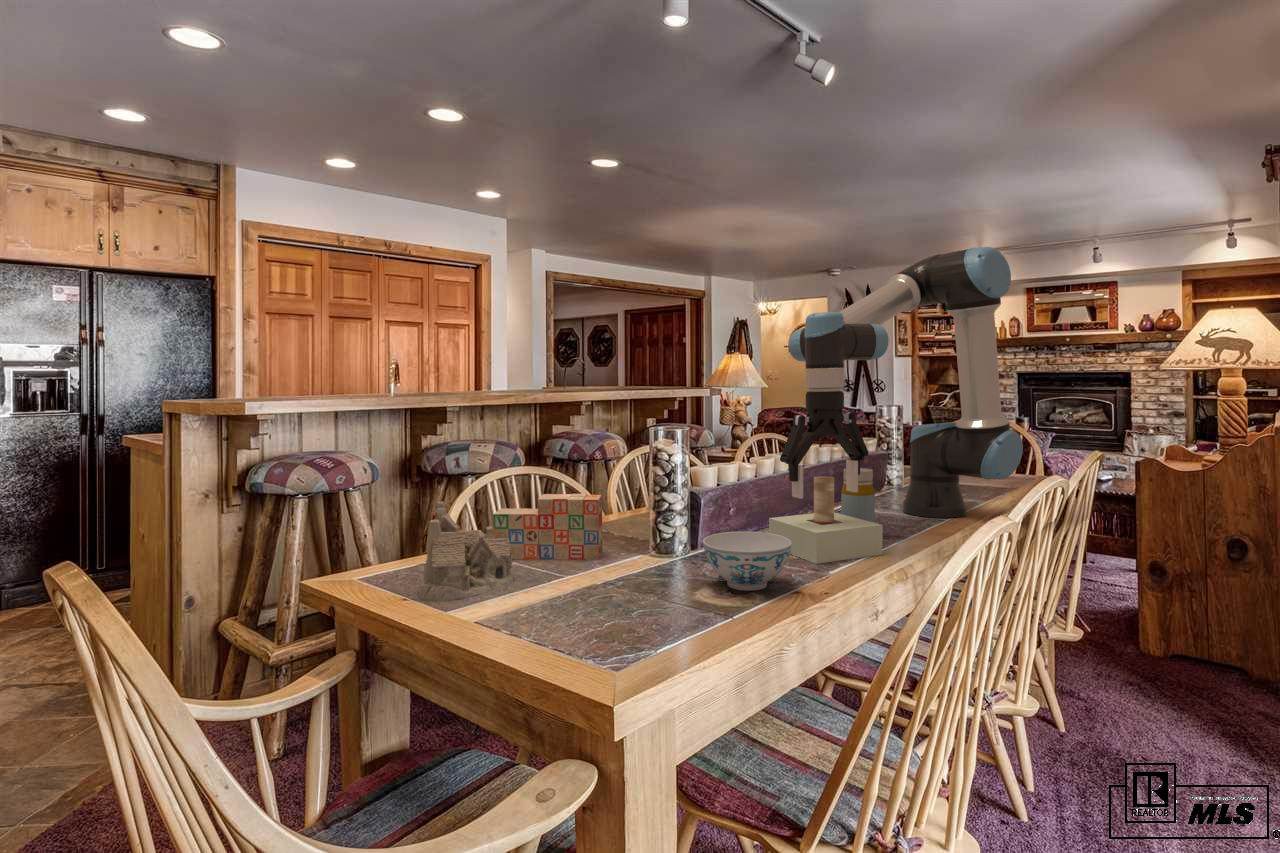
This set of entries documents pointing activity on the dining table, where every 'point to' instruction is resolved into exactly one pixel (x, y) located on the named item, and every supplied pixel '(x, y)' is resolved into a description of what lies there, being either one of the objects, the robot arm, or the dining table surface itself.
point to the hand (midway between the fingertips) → (825, 494)
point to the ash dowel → (824, 500)
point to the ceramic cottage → (463, 561)
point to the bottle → (860, 497)
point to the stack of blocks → (553, 528)
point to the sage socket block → (829, 537)
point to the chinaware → (747, 557)
